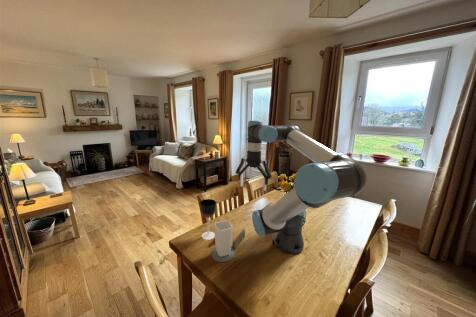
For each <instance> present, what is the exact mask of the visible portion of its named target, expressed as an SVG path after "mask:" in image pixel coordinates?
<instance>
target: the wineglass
mask: <svg viewBox="0 0 476 317" xmlns="http://www.w3.org/2000/svg"><path fill="white" fill-rule="evenodd" d="M199 206H200V207H199V209H200V213H201V215H202V216H203V217H205V218H206V219H207V231H205V232H203V233H202V234H201V238H202V239H203V240H206V241H210V240H212V239H215V232H213V231H210V218H212V217H213V216H215V213H216V209H217V201H216V200H214V199H209V198H206V199H202V200H200V201H199Z"/></svg>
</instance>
